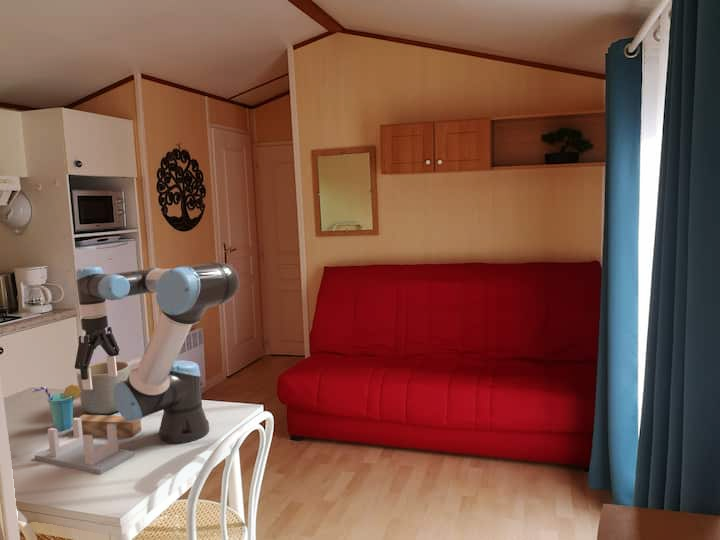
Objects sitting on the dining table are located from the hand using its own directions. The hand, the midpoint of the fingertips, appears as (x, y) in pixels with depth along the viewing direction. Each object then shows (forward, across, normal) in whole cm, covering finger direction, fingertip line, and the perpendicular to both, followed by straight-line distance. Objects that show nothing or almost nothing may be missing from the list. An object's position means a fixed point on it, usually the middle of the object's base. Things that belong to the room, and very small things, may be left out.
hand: (100, 382), depth 184 cm
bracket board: (+17, +17, +4) cm, 24 cm away
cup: (+16, -2, -18) cm, 24 cm away
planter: (+16, -19, -12) cm, 28 cm away
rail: (+17, 0, +1) cm, 17 cm away
